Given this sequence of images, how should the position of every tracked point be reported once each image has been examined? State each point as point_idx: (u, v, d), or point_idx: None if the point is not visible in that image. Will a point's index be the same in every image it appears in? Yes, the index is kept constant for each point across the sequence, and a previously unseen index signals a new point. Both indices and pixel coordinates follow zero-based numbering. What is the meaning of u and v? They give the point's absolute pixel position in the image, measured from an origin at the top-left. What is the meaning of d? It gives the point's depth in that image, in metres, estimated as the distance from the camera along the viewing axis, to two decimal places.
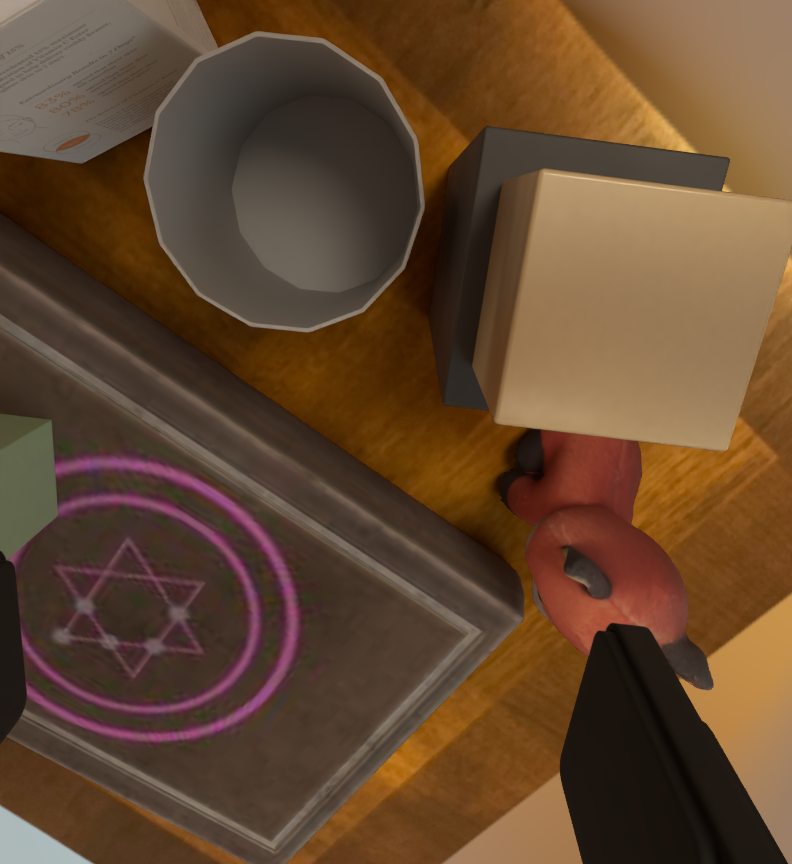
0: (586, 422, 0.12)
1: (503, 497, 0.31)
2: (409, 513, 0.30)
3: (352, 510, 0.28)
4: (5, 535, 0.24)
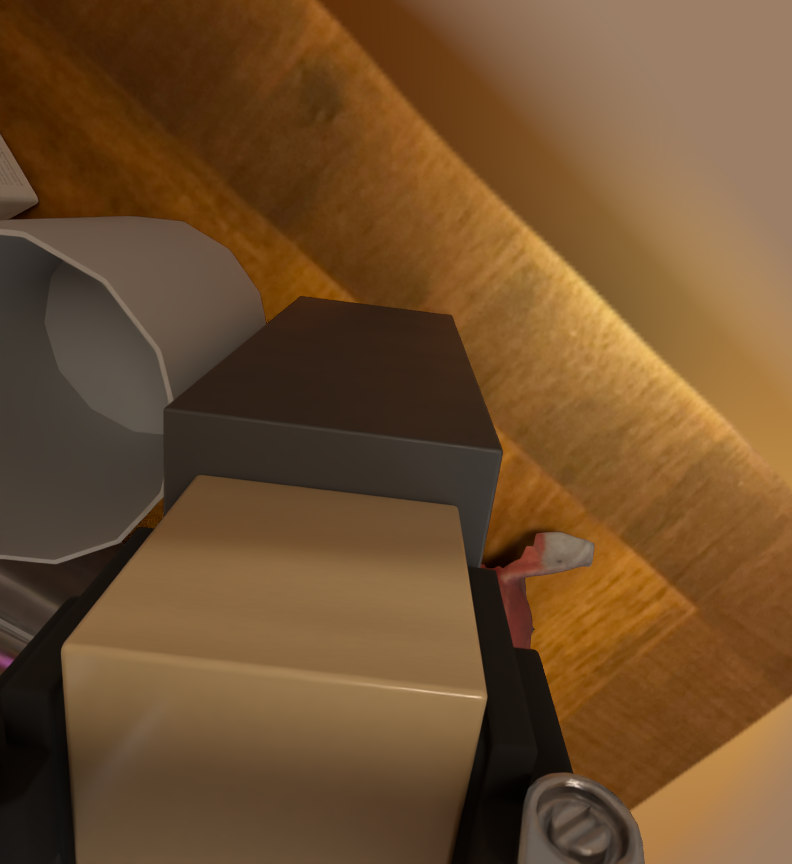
0: None
1: None
2: None
3: None
4: None
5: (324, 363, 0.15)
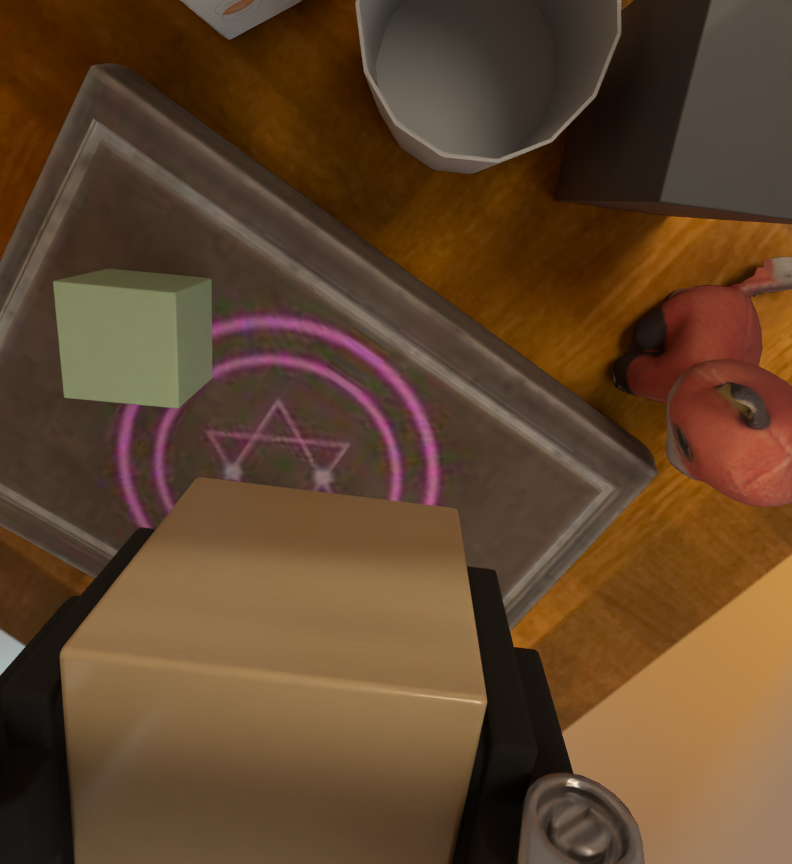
0: None
1: (621, 377, 0.32)
2: (543, 374, 0.31)
3: (497, 364, 0.29)
4: (184, 377, 0.25)
5: None
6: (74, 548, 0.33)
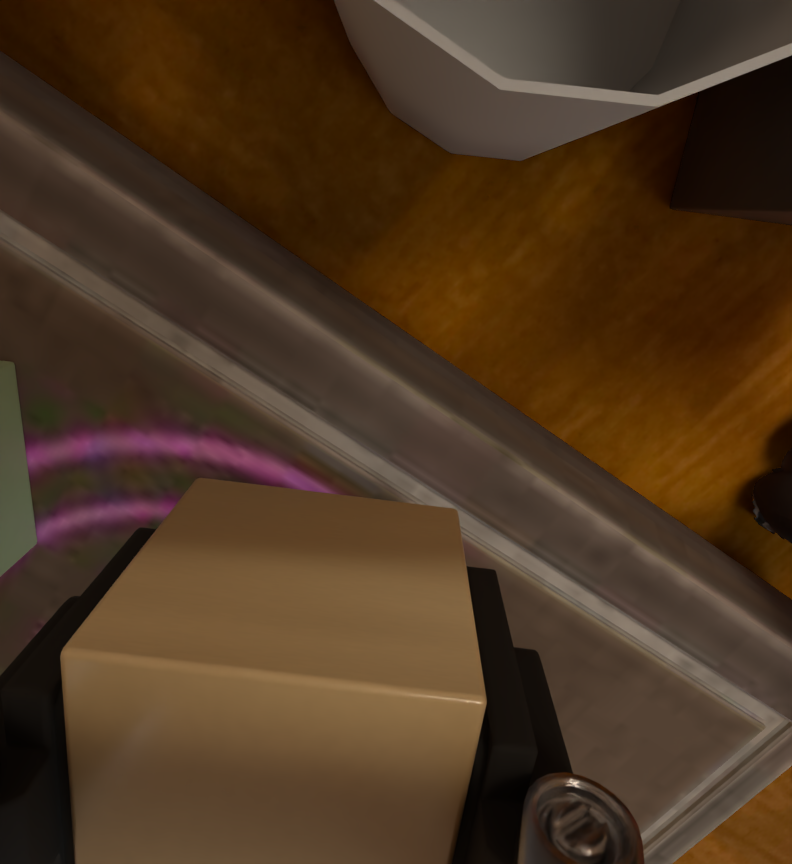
0: None
1: (778, 517, 0.18)
2: (657, 518, 0.17)
3: (581, 517, 0.15)
4: None
5: None
6: None
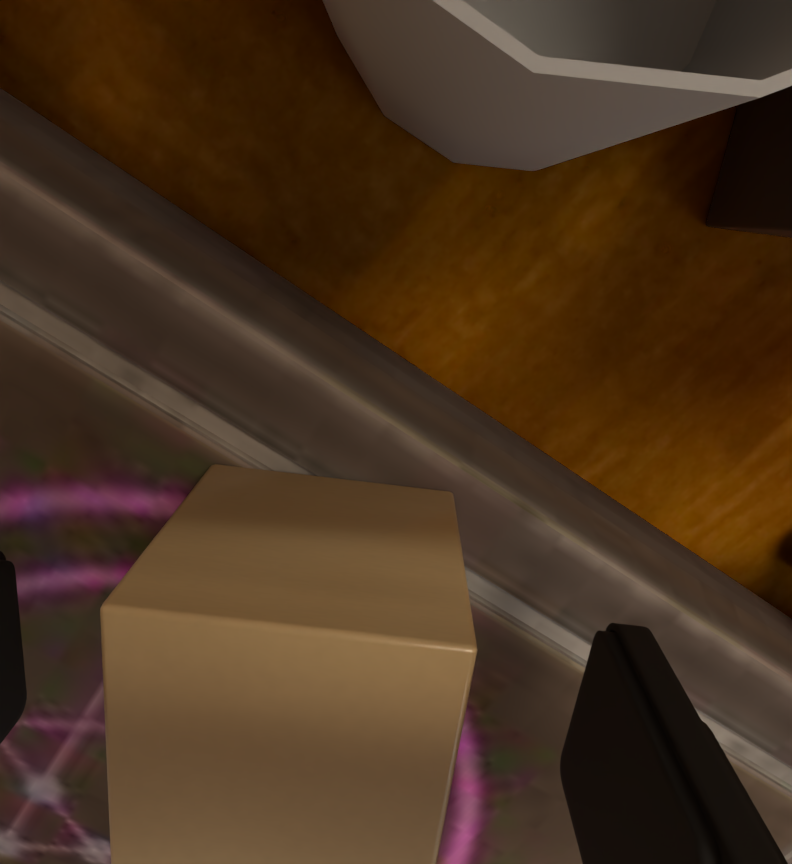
0: None
1: None
2: (701, 573, 0.14)
3: (616, 581, 0.13)
4: None
5: None
6: None
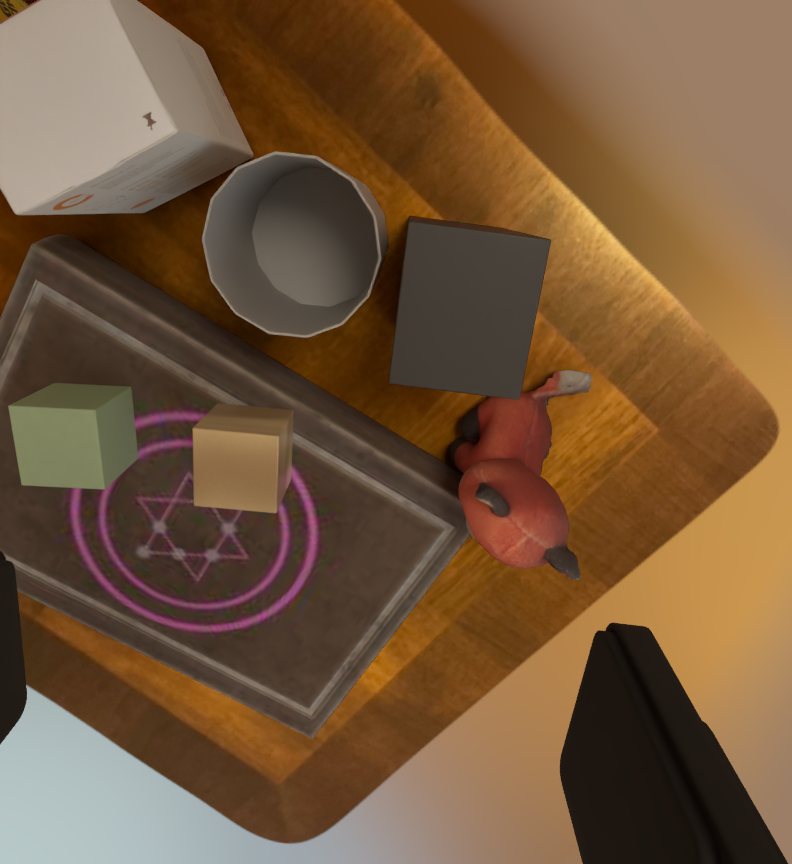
0: (225, 504, 0.35)
1: (451, 458, 0.42)
2: (394, 442, 0.40)
3: (350, 439, 0.38)
4: (109, 465, 0.35)
5: None
6: (42, 590, 0.42)
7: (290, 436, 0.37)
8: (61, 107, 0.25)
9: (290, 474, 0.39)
